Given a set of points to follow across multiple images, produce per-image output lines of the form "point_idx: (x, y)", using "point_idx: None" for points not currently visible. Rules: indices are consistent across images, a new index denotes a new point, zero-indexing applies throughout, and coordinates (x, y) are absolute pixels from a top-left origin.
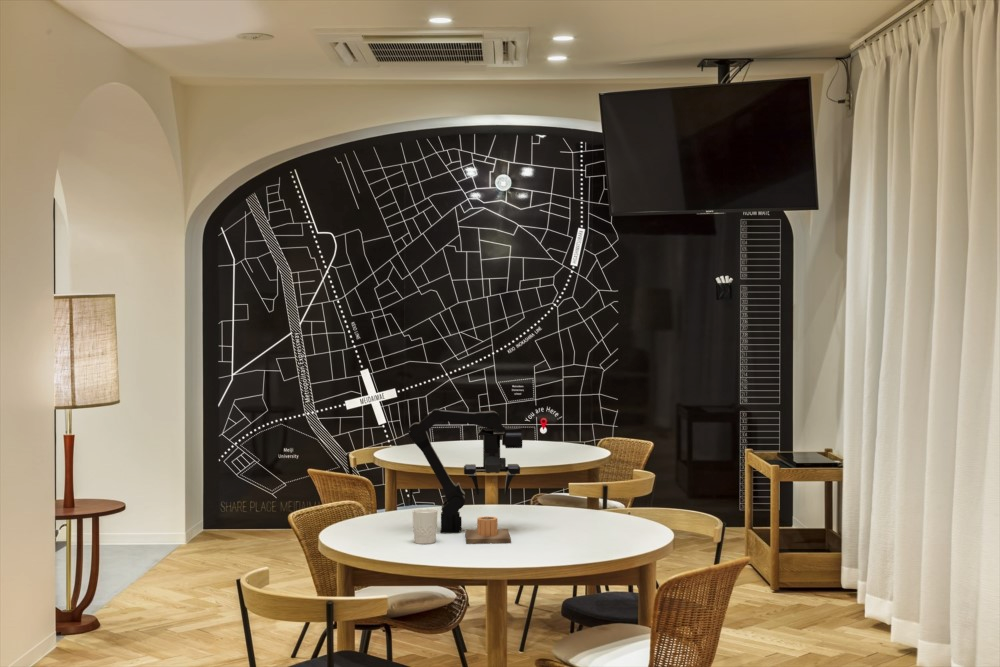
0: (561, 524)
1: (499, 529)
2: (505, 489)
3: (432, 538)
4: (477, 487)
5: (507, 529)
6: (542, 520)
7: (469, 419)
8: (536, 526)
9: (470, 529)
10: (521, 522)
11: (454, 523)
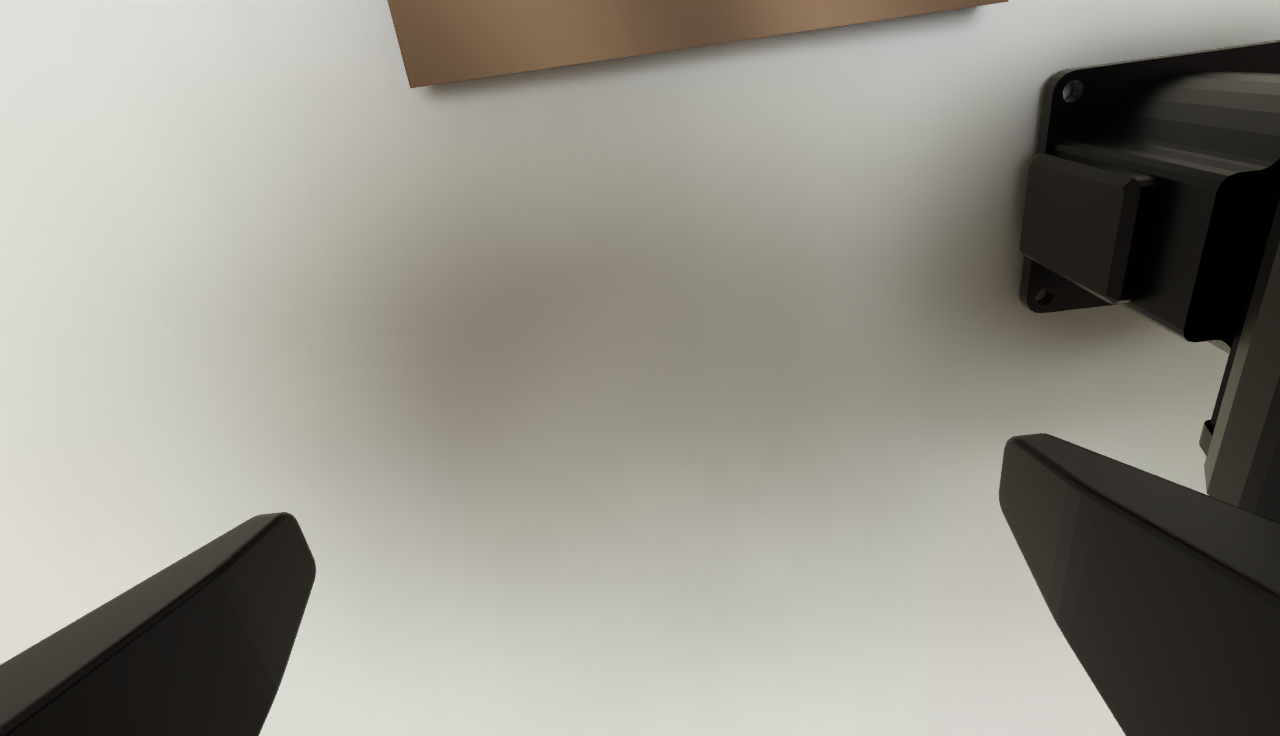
0: (32, 587)
1: (517, 33)
2: (172, 597)
3: None
4: (1239, 551)
5: (406, 43)
6: None
7: None
8: (226, 497)
9: (934, 11)
10: (417, 649)
11: (1201, 102)
